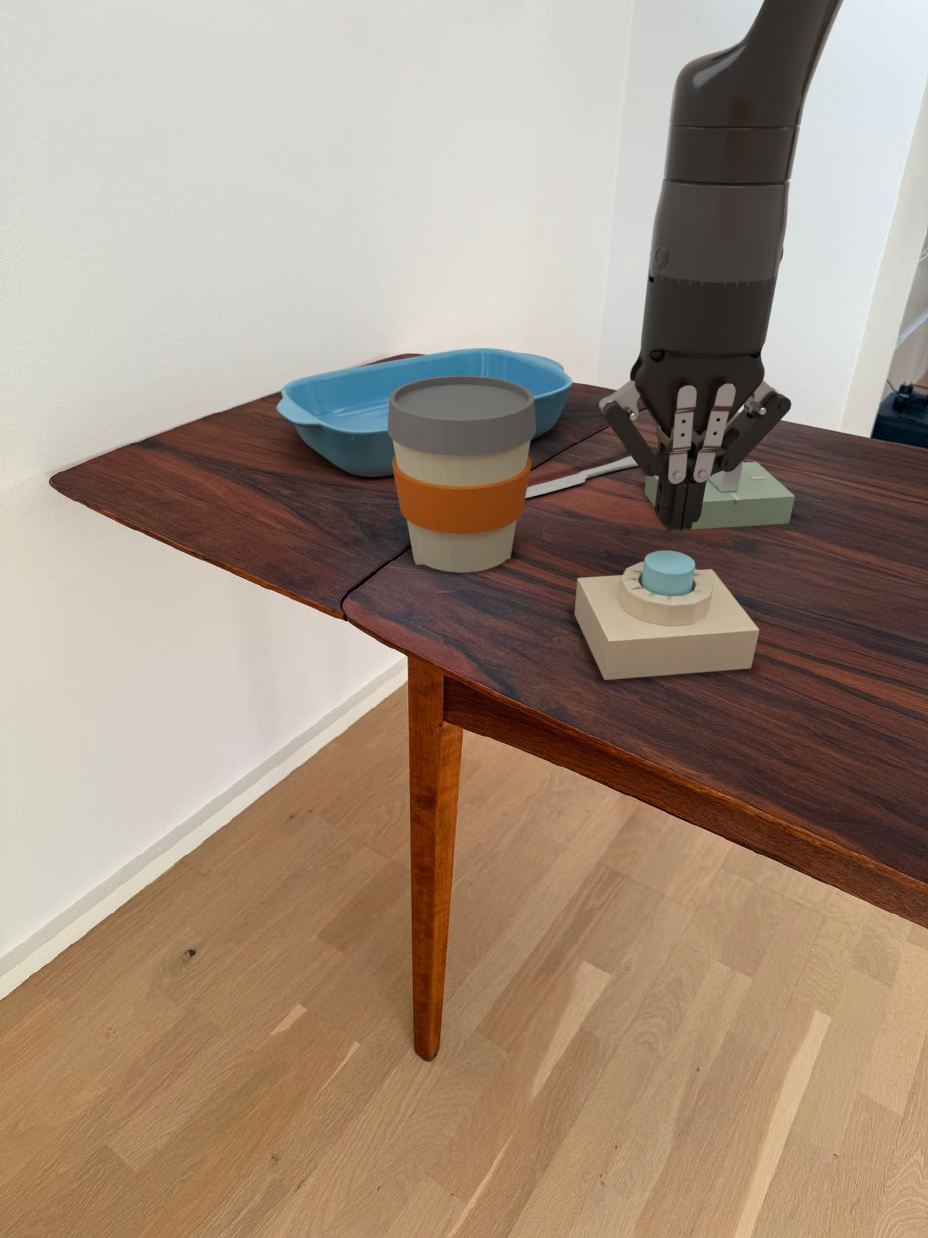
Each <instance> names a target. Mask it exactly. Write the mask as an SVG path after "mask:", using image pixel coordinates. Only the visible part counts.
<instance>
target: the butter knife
mask: <svg viewBox="0 0 928 1238" xmlns="http://www.w3.org/2000/svg"><path fill="white" fill-rule="evenodd" d="M637 467H640V466H639V465H638V464H637V463H636V462H635V461H634V459H633V458H632V456H631V455H629V456H626V457H624V458H621V459H619V460H615V461H614V462H611V463H607V464H603V465H601V466H597V467H593V468H589V469H585V470H581V471H580V472H578V473H575V474H571V475H568V476H564V477H560V478H557V479H553V480H550V481H546V482H543V483H538V484H535V485H532V486H527V492H526V497H525V499H528V498H533V497H535V496H539V495H544V494H548V493H551V492H554V491H558V490H562V489H565V488H570V487H572V486H576V485H580V484H583V483H585V482H586V479H591V478H594V477H597V476H598V477H599V476H601V475H605V474H608V473H612V472H616V471H620V470H626V469H630V468H637Z"/></svg>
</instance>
